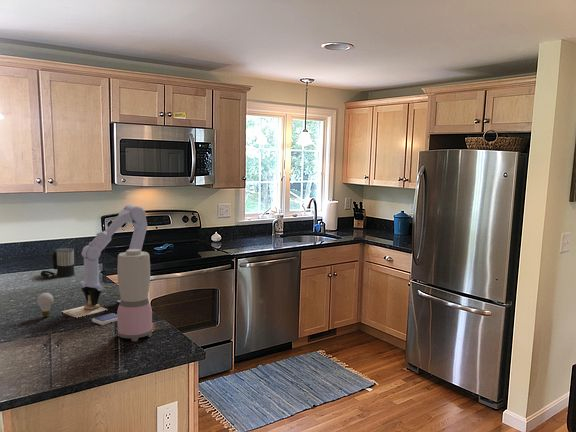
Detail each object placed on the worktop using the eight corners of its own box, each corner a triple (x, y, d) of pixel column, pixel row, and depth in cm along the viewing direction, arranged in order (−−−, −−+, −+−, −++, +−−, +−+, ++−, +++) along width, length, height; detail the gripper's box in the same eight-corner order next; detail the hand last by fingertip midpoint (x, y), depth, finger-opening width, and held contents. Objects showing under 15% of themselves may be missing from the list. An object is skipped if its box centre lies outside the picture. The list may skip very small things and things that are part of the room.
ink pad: (112, 315, 194) (111, 312, 194) (122, 319, 190) (122, 315, 190) (92, 321, 187) (91, 317, 187) (102, 325, 183) (101, 321, 183)
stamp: (92, 306, 206) (91, 293, 205) (99, 307, 204) (99, 294, 203) (83, 309, 201) (83, 295, 201) (91, 310, 200) (91, 297, 199)
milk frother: (78, 273, 266) (77, 248, 264) (61, 280, 250) (60, 253, 248) (55, 272, 268) (54, 247, 266) (37, 279, 252) (35, 252, 250)
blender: (159, 335, 174) (158, 250, 170) (129, 344, 164) (128, 254, 161) (135, 325, 184) (133, 245, 180) (106, 333, 174) (104, 249, 171)
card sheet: (92, 304, 209) (92, 303, 209) (107, 309, 202) (107, 309, 202) (61, 312, 198) (61, 311, 198) (76, 318, 191) (76, 317, 191)
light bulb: (38, 315, 193) (38, 291, 192) (54, 313, 195) (53, 290, 194) (36, 319, 188) (35, 295, 187) (53, 318, 190) (52, 294, 189)
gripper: (73, 272, 202) (74, 303, 204) (92, 277, 194) (93, 309, 195) (88, 269, 208) (89, 299, 209) (107, 274, 199) (108, 305, 201)
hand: (92, 304), depth 203 cm, fingers closed on stamp, 3 cm apart
